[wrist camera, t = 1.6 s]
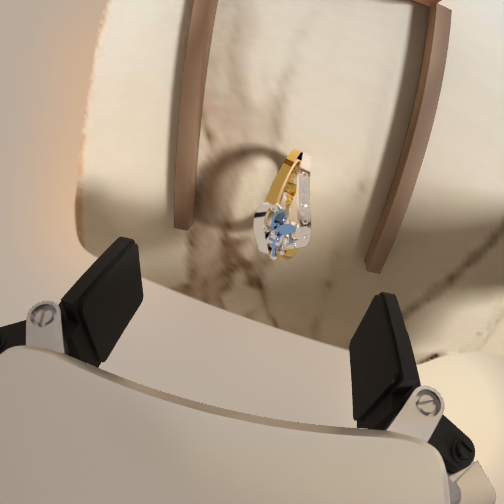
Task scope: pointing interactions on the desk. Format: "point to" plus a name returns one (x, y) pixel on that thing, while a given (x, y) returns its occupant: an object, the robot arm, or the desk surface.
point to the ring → (286, 210)
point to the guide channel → (411, 150)
